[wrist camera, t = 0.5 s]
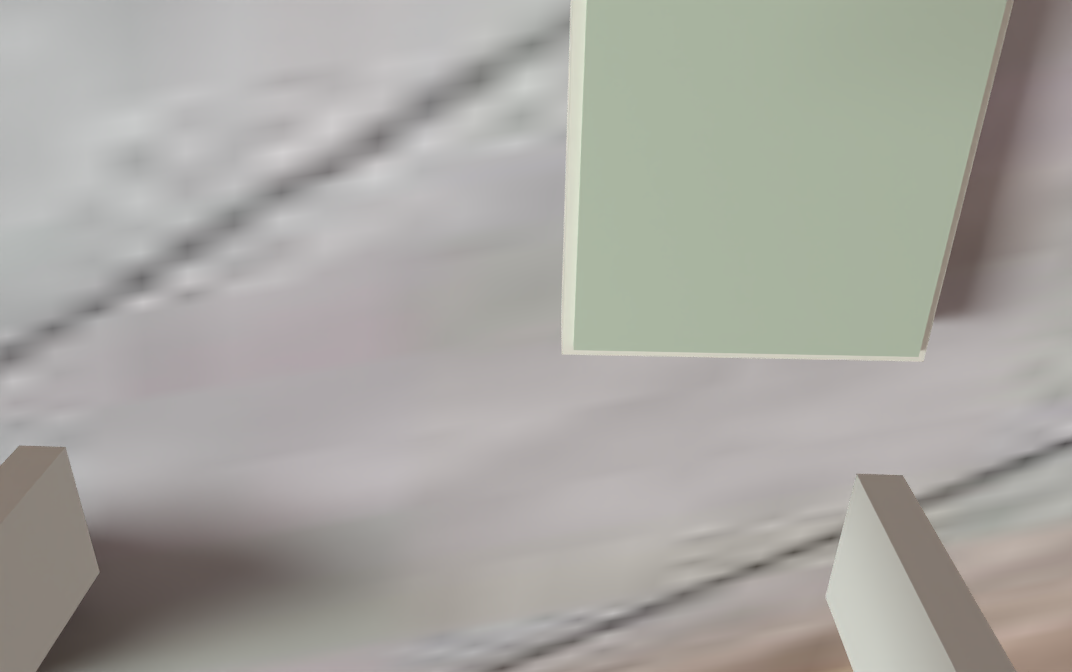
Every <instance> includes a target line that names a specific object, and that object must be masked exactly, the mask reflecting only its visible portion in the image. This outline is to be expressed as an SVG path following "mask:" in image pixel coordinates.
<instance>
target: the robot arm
mask: <svg viewBox="0 0 1072 672" xmlns="http://www.w3.org/2000/svg"><path fill="white" fill-rule="evenodd" d="M99 573H100V571H99V568H98V564H97V560H96V557H95V553H94V549H93V546H92V542H91V539H90V535H89V531H88V528H87V524H86V520H85V517H84V513H83V509H82V506H81V502H80V498H79V495H78V491H77V488H76V484H75V480H74V477H73V473H72V469H71V466H70V462H69V458H68V455H67V451H66V448H65V447H45V446H18V448H17V449H16V450H15V451H14V452H13V453H12V454H11V455H10V456H9V457H8V458H7V459H6V460H5V462H4V463H3V464H2V465H1V466H0V672H36V671H37V669H38V668H39V666H40V665H41V663H42V661H43V660H44V658H45V657H46V655H47V654H48V652H49V651H50V649H51V647H52V646H53V644H54V643H55V641H56V640H57V638H58V637H59V635H60V633H61V632H62V630H63V629H64V627H65V626H66V624H67V623H68V621H69V619H70V618H71V616H72V615H73V613H74V612H75V610H76V609H77V607H78V605H79V604H80V602H81V601H82V599H83V598H84V596H85V595H86V593H87V591H88V590H89V588H90V587H91V585H92V584H93V582H94V581H95V579H96V577H97V576H98V574H99ZM826 600H827V602H828V605H829V608H830V610H831V613H832V615H833V618H834V621H835V623H836V626H837V629H838V631H839V634H840V637H841V639H842V642H843V645H844V647H845V650H846V653H847V655H848V658H849V661H850V663H851V666H852V669H853V671H854V672H1016V670H1015V669H1014V667H1013V665H1012V663H1011V662H1010V660H1009V658H1008V656H1007V655H1006V653H1005V651H1004V650H1003V648H1002V646H1001V644H1000V643H999V641H998V639H997V637H996V636H995V634H994V632H993V631H992V629H991V627H990V625H989V624H988V622H987V620H986V618H985V617H984V615H983V613H982V612H981V610H980V608H979V606H978V605H977V603H976V601H975V599H974V598H973V596H972V594H971V593H970V591H969V589H968V587H967V586H966V584H965V582H964V580H963V579H962V577H961V575H960V574H959V572H958V570H957V568H956V567H955V565H954V563H953V561H952V560H951V558H950V556H949V555H948V553H947V551H946V549H945V548H944V546H943V544H942V542H941V541H940V539H939V537H938V536H937V534H936V532H935V530H934V529H933V527H932V525H931V523H930V522H929V520H928V518H927V517H926V515H925V513H924V511H923V510H922V508H921V506H920V504H919V503H918V501H917V499H916V498H915V496H914V494H913V492H912V491H911V489H910V487H909V485H908V484H907V482H906V480H905V479H904V477H903V475H876V474H856V478H855V482H854V486H853V490H852V494H851V498H850V502H849V505H848V509H847V513H846V517H845V521H844V525H843V529H842V533H841V537H840V541H839V545H838V549H837V553H836V557H835V561H834V565H833V569H832V573H831V577H830V581H829V585H828V589H827V593H826Z"/></svg>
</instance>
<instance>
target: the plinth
mask: <svg viewBox="0 0 1072 672" xmlns="http://www.w3.org/2000/svg"><path fill="white" fill-rule="evenodd" d="M1013 3H1014V0H571V5H570V38H569V71H568V105H567V138H566V172H565V205H564V239H563V272H562V306H561V339H562V354H566V355H617V356H668V357H719V358H770V359H821V360H872V361H922V362H923V361H924V357H925V353H926V349H927V345H928V341H929V337H930V333H931V329H932V325H933V321H934V317H935V313H936V309H937V305H938V301H939V297H940V293H941V289H942V285H943V281H944V277H945V273H946V269H947V265H948V261H949V257H950V253H951V249H952V245H953V241H954V237H955V233H956V229H957V225H958V221H959V217H960V213H961V209H962V205H963V201H964V198H965V194H966V190H967V186H968V182H969V178H970V174H971V170H972V166H973V162H974V158H975V154H976V150H977V146H978V142H979V138H980V134H981V130H982V126H983V122H984V118H985V114H986V110H987V106H988V102H989V98H990V94H991V90H992V86H993V82H994V78H995V74H996V70H997V66H998V62H999V58H1000V54H1001V50H1002V46H1003V42H1004V38H1005V34H1006V30H1007V26H1008V22H1009V18H1010V15H1011V11H1012V7H1013Z"/></svg>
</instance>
